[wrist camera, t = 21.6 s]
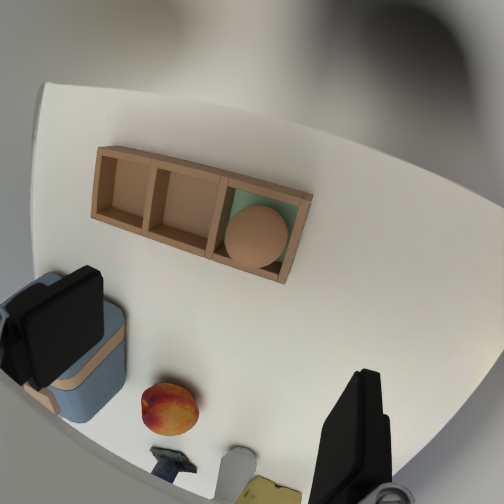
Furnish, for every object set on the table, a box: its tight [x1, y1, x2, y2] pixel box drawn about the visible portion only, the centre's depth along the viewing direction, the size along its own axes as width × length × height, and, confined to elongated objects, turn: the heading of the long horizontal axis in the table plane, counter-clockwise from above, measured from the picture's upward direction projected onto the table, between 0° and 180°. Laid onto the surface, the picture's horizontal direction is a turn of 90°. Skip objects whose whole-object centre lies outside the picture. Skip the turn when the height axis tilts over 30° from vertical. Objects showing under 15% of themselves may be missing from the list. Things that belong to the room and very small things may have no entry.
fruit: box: [141, 383, 199, 436], centre depth 39 cm, size 8×8×8 cm
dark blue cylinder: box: [150, 447, 197, 484], centre depth 45 cm, size 9×8×12 cm
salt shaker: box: [211, 447, 256, 504], centre depth 38 cm, size 6×6×13 cm
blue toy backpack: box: [0, 272, 125, 423], centre depth 36 cm, size 16×16×16 cm
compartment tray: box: [91, 146, 313, 285], centre depth 31 cm, size 23×8×3 cm, turn 76°
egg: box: [225, 205, 288, 268], centre depth 27 cm, size 5×5×8 cm
